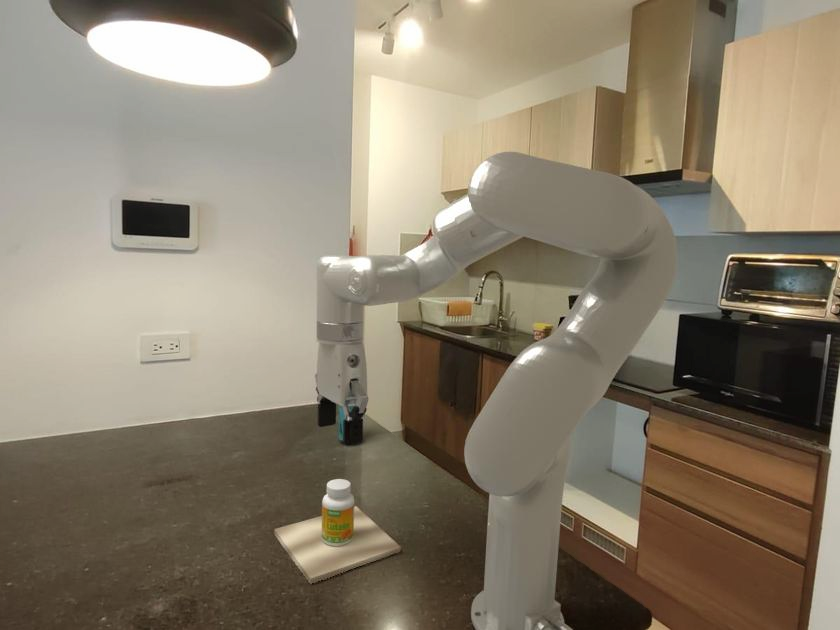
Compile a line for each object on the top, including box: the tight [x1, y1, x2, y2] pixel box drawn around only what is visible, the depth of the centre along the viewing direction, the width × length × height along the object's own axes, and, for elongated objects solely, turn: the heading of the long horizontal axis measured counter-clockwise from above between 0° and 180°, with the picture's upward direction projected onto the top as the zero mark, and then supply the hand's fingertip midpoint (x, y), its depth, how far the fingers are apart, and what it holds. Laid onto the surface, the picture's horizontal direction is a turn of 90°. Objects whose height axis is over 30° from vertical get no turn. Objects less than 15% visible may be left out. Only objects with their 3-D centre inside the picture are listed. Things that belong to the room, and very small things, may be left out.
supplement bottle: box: [321, 478, 355, 546], centre depth 88 cm, size 5×5×10 cm
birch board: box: [273, 505, 402, 585], centre depth 88 cm, size 16×16×1 cm
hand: (339, 433), depth 86 cm, fingers open, 9 cm apart
